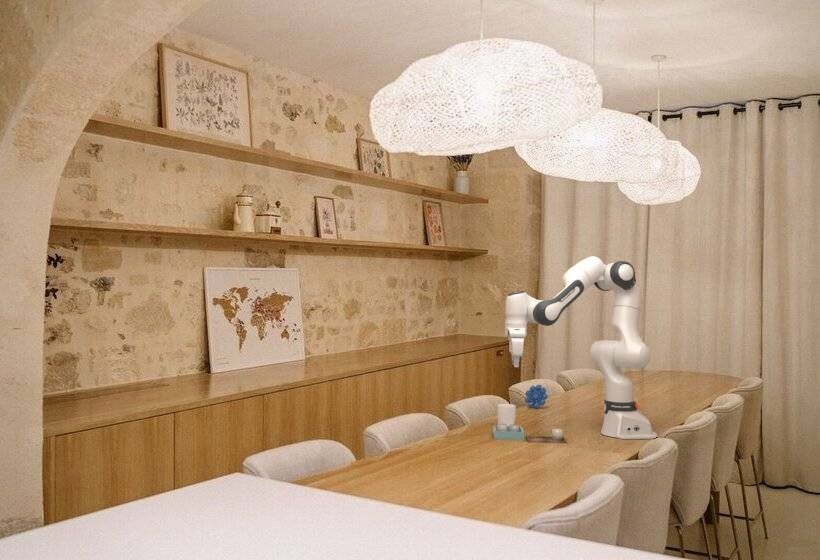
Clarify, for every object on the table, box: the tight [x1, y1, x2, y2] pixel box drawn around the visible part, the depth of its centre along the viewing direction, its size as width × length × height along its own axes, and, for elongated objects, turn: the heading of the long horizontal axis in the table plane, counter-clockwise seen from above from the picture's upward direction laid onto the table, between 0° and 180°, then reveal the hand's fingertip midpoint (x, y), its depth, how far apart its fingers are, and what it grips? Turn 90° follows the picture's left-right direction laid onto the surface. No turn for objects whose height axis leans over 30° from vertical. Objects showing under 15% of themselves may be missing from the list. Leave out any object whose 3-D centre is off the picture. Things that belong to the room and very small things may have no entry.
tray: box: [525, 435, 568, 444], centre depth 293 cm, size 15×8×1 cm, turn 87°
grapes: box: [524, 384, 549, 409], centre depth 368 cm, size 12×7×12 cm, turn 64°
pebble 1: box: [496, 423, 507, 431], centre depth 299 cm, size 4×4×4 cm
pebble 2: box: [509, 423, 520, 432], centre depth 299 cm, size 4×4×4 cm
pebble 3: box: [551, 427, 563, 441], centre depth 293 cm, size 4×4×4 cm
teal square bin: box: [492, 425, 525, 441], centre depth 299 cm, size 12×12×4 cm
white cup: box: [496, 403, 517, 426], centre depth 317 cm, size 8×8×10 cm
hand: (515, 365), depth 299 cm, fingers open, 8 cm apart
